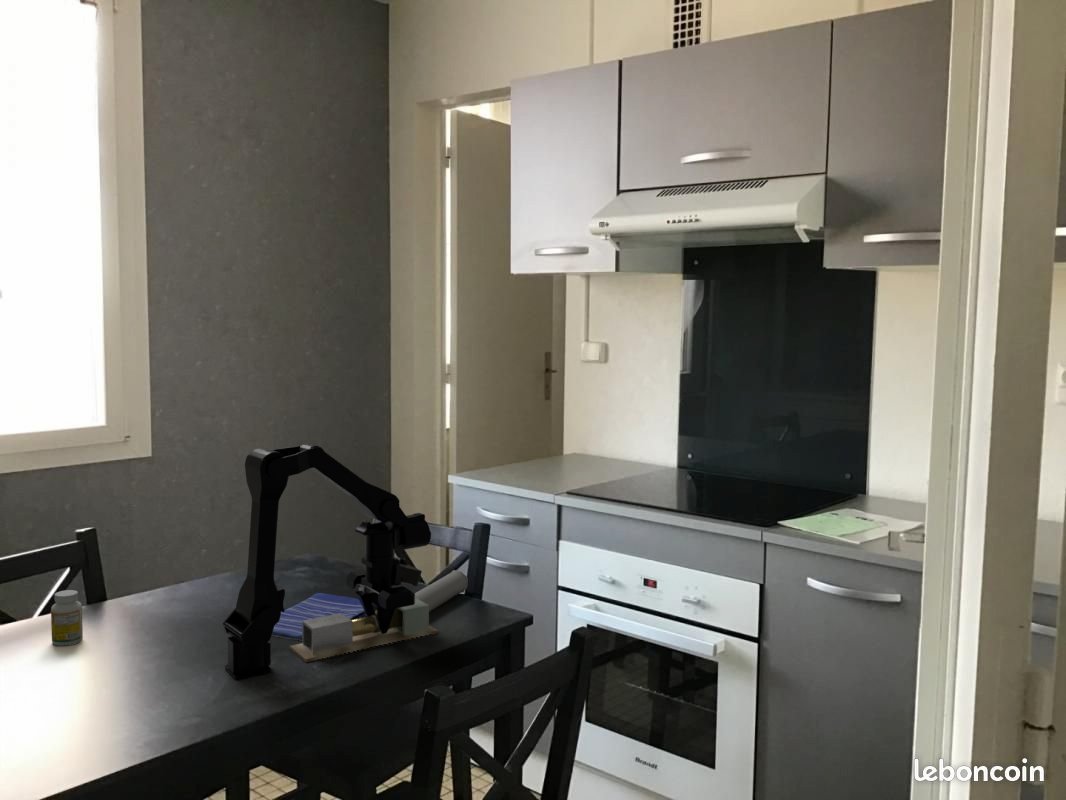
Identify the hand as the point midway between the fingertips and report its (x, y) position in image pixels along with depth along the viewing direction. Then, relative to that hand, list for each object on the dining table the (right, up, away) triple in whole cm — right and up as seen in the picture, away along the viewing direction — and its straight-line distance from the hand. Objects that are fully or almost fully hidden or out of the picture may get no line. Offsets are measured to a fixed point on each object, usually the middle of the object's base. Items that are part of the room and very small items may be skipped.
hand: (379, 630), depth 178 cm
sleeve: (-9, -2, -6) cm, 11 cm away
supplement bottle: (-59, -1, -5) cm, 60 cm away
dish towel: (-15, -1, +10) cm, 18 cm away
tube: (+8, 0, +20) cm, 22 cm away
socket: (+5, -1, +4) cm, 7 cm away
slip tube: (-2, 0, -2) cm, 3 cm away
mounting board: (-2, -2, -2) cm, 3 cm away
